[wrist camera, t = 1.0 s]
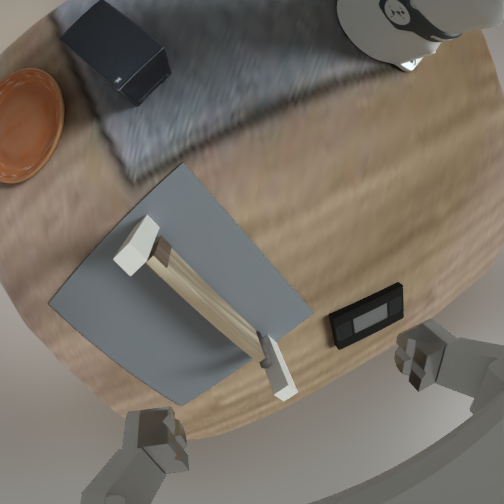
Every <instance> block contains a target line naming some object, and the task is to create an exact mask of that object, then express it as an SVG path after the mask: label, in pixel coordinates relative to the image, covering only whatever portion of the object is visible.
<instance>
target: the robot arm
mask: <svg viewBox="0 0 504 504" xmlns="http://www.w3.org/2000/svg"><path fill="white" fill-rule="evenodd" d="M337 14H338V18H339V21H340V24H341V26H342V28H343V30H344V31H345V33H346V34H347V36H348V37H349V38H350V40H351V41H352V42H353V43H354V44H355V45H356V46H357V47H358V48H359V49H360V50H362V51H363V52H364V53H366V54H367V55H369V56H370V57H372V58H374V59H377V60H379V61H383V62H387V63H392V64H394V65H396V66H397V67H399V68H400V69H402V70H404V71H406V72H409V71H412V70H413V69H414V68H415V67H416V66H417V64H418V63H419V62H420V61H421V59H422V58H423V57H425V56H429V55H432V54H434V53H435V50H436V49H437V48H438V47H439V45H440V43H441V42H442V41H449V40H452V39H453V38H457V37H459V36H460V35H462V33H465V32H470V31H475V30H480V29H486V28H491V27H497V26H498V25H500V24H501V23H502V22H503V21H504V0H338V1H337ZM410 61H411V62H410ZM396 343H397V344H398V345H399V347H398V348H397V350H396V351H395V363H396V366H397V368H398V370H399V371H400V372H401V373H402V374H404V375H408V376H409V382H410V383H411V384H412V385H413V386H414V388H415V389H416V390H417V391H418V392H419V391H421V390H423V389H424V388H426V387H428V386H429V385H432V384H433V383H435V382H436V383H437V384H439V385H441V386H444V387H447V388H449V389H452V390H454V391H457V392H460V393H463V394H465V395H468V396H471V397H474V400H473V402H472V404H471V406H470V411H471V412H472V413H473V414H474V415H473V416H472V417H470V418H469V419H468V420H466V421H465V422H464V423H462V424H461V425H460V426H458V427H457V428H456V429H454V430H453V431H451V432H450V433H449V434H447V435H446V436H444V437H443V438H441V439H440V440H438V441H437V442H435V443H434V444H432V445H431V446H429V447H428V448H426V449H424V450H423V451H421V452H419V453H418V454H416V455H415V456H413V457H411V458H409V459H408V460H406V461H404V462H402V463H401V464H399V465H397V466H395V467H393V468H391V469H389V470H388V471H385V472H384V473H382V474H380V475H378V476H375V477H373V478H371V479H369V480H367V481H365V482H363V483H361V484H358V485H356V486H354V487H351V488H349V489H346V490H344V491H342V492H339V493H337V494H334V495H332V496H329V497H326V498H323V499H321V500H318V501H315V502H312V503H309V504H504V346H502V345H498V344H492V343H487V342H481V341H476V340H470V339H465V338H459V339H457V338H456V337H455V336H453V335H452V334H451V333H450V332H448V331H447V330H446V329H445V328H443V327H442V326H441V325H439V324H438V323H437V322H435V321H434V320H433V319H428V320H426V321H424V322H422V323H420V324H419V325H416V326H414V327H412V328H410V329H408V330H406V331H404V332H402V333H400V334H399V335H398V336H397V341H396ZM186 446H187V440H186V435H185V431H184V428H183V426H182V424H181V422H180V421H179V420H177V419H175V412H174V411H173V409H172V408H171V407H162V408H154V409H147V410H140V411H131V412H128V413H127V415H126V421H125V429H124V437H123V446H122V449H119V450H118V451H117V452H116V453H115V454H114V455H113V457H112V458H111V459H110V460H109V461H108V463H107V464H106V465H105V466H104V467H103V468H102V470H101V471H100V472H99V473H98V474H97V476H96V477H95V478H94V479H93V480H92V482H91V483H90V484H89V485H88V486H87V487H86V488H85V490H84V491H83V492H82V497H81V504H151V502H152V500H153V498H154V497H155V495H156V493H157V491H158V489H159V488H160V486H161V484H162V482H163V480H164V478H165V477H166V474H170V473H176V472H183V471H189V464H188V455H187V453H186V452H185V451H184V448H185V447H186Z"/></svg>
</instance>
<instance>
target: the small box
mask: <svg viewBox="0 0 504 504" xmlns="http://www.w3.org/2000/svg"><path fill="white" fill-rule="evenodd" d="M59 40H60V41H61V42H62V43H63V44H64V45H65V46H67V47H68V48H69V49H70V50H71V51H72V52H74V53H75V54H76V55H77V56H78V57H79V58H80V59H82V60H83V61H84V62H85V63H86V64H87V65H88V66H90V67H91V68H92V69H93V70H94V71H95V72H96V73H98V74H99V75H100V76H101V77H102V78H103V79H104V80H105V81H107V82H108V83H109V84H110V85H111V86H112V87H114V88H115V89H116V90H117V91H118V92H119V93H121V94H122V95H124V96H125V97H126V98H128V99H129V100H130V101H131V102H133V104H135V105H136V106H140V104H142V102H143V101H144V99H146V98H147V96H148V95H149V94H150V93H152V91H153V90H154V89H156V88H157V87H158V86H159V85H160V84H161V83H163V81H164V80H165V79H166V78H167V77H168V76H169V75H170V74H171V71H170V68H169V64H168V61H167V57H166V53H165V49H164V46H163V45H162V44H161V43H159V42H158V41H157V40H156V39H154V38H153V37H152V36H151V35H150V34H148V33H147V32H146V31H144V30H143V29H142V28H141V27H139V26H138V25H137V24H135V23H134V22H133V21H131V20H130V19H129V18H128V17H126V16H125V15H124V14H122V13H121V12H120V11H118V10H117V9H115V8H114V7H113V6H111V5H110V4H109V3H107V2H106V1H104V0H100V1H98V2H97V3H96V4H95V5H93V6H92V7H91V8H90V9H89V10H88V11H87V12H86V13H85V14H83V15H82V16H81V17H80V18H79V19H78V20H77V21H76V22H75V23H74V24H73V25H72V26H71V27H70V28H69V29H68V30H67V31H66V32H65V33H64V34H63V36H62V37H61V38H60V39H59Z"/></svg>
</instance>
